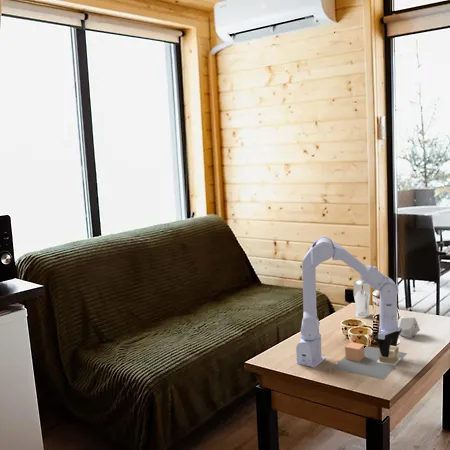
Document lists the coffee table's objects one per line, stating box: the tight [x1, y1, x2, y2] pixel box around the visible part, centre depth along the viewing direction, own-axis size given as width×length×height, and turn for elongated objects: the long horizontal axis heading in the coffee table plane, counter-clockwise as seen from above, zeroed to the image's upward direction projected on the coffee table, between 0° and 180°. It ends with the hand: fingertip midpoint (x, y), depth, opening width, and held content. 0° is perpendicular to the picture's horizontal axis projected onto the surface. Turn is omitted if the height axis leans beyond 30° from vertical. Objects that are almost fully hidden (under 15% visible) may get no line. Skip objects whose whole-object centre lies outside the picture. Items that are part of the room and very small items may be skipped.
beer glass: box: [353, 279, 371, 319], centre depth 239 cm, size 7×7×15 cm
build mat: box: [331, 346, 408, 381], centre depth 193 cm, size 24×18×1 cm
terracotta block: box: [344, 342, 365, 362], centre depth 195 cm, size 5×5×4 cm
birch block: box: [379, 345, 400, 364], centre depth 191 cm, size 5×5×4 cm
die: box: [397, 314, 421, 339], centre depth 214 cm, size 8×9×10 cm
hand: (388, 352), depth 191 cm, fingers open, 7 cm apart
